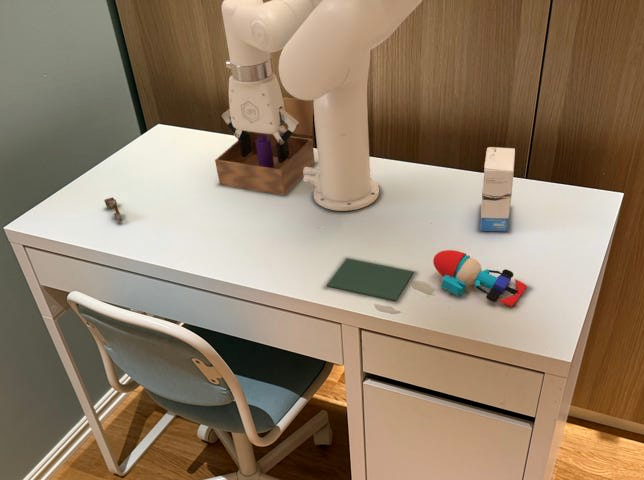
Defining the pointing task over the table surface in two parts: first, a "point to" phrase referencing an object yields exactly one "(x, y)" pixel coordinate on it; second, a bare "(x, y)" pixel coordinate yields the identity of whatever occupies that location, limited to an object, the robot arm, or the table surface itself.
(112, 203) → the wooden post with brackets
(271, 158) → the purple bottle
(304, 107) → the wooden box lid
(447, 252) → the toy figure
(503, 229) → the ink box
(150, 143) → the table surface
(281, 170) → the brown wooden open box
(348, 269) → the drawing mat
